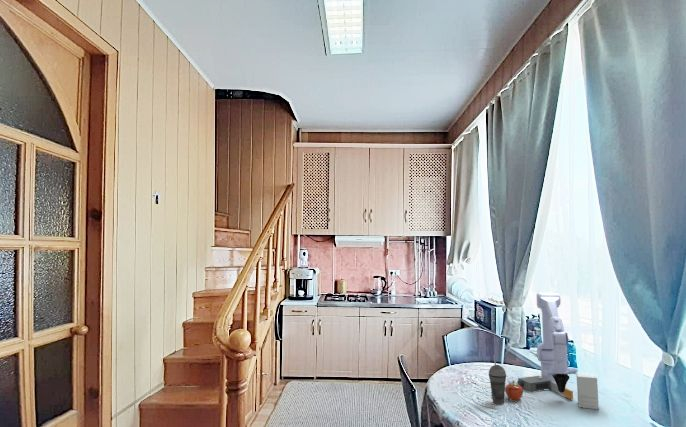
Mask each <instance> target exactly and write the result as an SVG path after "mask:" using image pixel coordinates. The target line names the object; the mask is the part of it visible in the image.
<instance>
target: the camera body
mask: <svg viewBox="0 0 686 427" xmlns="http://www.w3.org/2000/svg"><path fill="white" fill-rule="evenodd" d="M550 381H551V380H549V379H546V378H544V377H541V375H533V376H525V377H519V378H517V381H516V383H518V384H519V385H520V386H521V387H522V389H523V391H524V390H525V391H527V392H530V393H534V392H533V391H536V392H540V391H539V390H543V391H545V390H544V389H550V390H552V389H551V384H550Z"/></svg>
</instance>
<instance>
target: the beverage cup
mask: <svg viewBox="0 0 686 427" xmlns="http://www.w3.org/2000/svg"><path fill="white" fill-rule="evenodd" d="M495 355H496V354H493V356H492V357H493V362H494V363H493V364H494V365H492V366H490V368H489V370H488V378H489V382H490V390H491V391H490V392H491V399H492V403H493V404H496V405H504V404H505V396H506V395H505V394H506V392H505V387H506V380H507V371H506V370H505V368H504V367H503V366H501V364H500V365H499V364H497V362H496V356H495Z"/></svg>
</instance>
